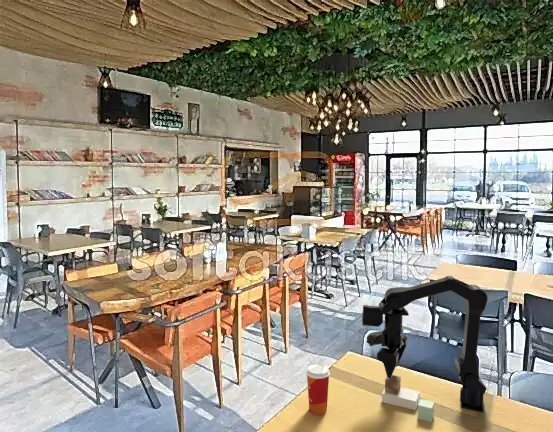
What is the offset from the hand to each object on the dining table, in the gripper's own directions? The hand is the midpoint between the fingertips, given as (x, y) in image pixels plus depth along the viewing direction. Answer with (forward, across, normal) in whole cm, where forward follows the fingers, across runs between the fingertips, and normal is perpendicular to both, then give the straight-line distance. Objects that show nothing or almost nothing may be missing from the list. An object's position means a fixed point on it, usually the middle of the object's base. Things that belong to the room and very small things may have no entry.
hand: (392, 371), depth 145 cm
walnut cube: (+7, 0, 0) cm, 7 cm away
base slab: (+10, 0, +3) cm, 10 cm away
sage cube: (+10, +6, +12) cm, 17 cm away
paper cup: (+10, +18, -20) cm, 28 cm away
